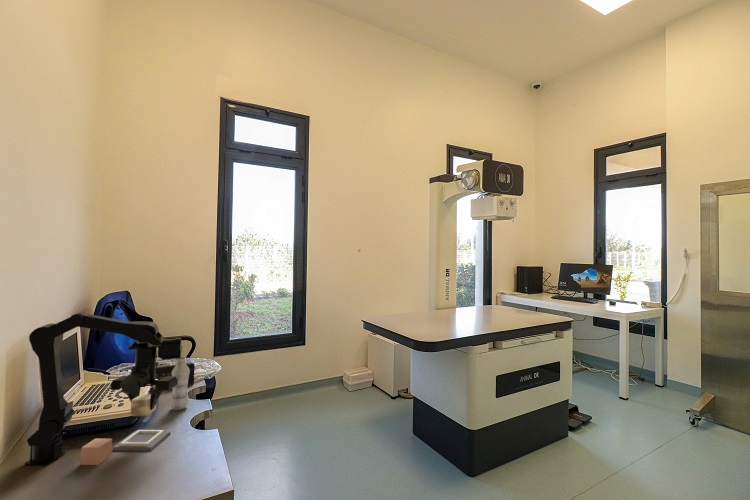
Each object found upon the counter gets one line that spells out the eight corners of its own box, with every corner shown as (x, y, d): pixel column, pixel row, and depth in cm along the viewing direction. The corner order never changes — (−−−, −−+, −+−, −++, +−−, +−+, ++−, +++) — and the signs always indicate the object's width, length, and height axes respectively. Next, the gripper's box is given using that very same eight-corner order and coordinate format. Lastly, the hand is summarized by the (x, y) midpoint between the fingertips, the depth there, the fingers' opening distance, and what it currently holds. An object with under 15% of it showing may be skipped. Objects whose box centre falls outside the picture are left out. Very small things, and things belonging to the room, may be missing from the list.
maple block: (130, 415, 109) (131, 400, 109) (141, 409, 114) (141, 394, 114) (146, 416, 109) (147, 400, 109) (156, 409, 114) (156, 394, 114)
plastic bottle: (167, 413, 132) (169, 361, 133) (172, 406, 139) (174, 356, 139) (186, 411, 134) (187, 360, 135) (190, 404, 140) (192, 355, 141)
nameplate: (193, 383, 165) (194, 362, 165) (193, 384, 163) (194, 363, 164) (141, 391, 154) (142, 368, 154) (141, 392, 153) (142, 370, 153)
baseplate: (112, 450, 106) (112, 444, 106) (134, 434, 116) (134, 428, 116) (151, 450, 106) (151, 444, 107) (170, 434, 116) (170, 429, 117)
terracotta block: (80, 464, 99) (81, 447, 99) (94, 455, 104) (95, 438, 104) (98, 465, 99) (99, 447, 99) (111, 455, 104) (112, 438, 104)
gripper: (97, 368, 104) (95, 420, 104) (159, 369, 104) (157, 421, 104) (123, 358, 115) (121, 405, 115) (179, 359, 115) (177, 405, 115)
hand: (143, 409), depth 112 cm, fingers closed on maple block, 5 cm apart
